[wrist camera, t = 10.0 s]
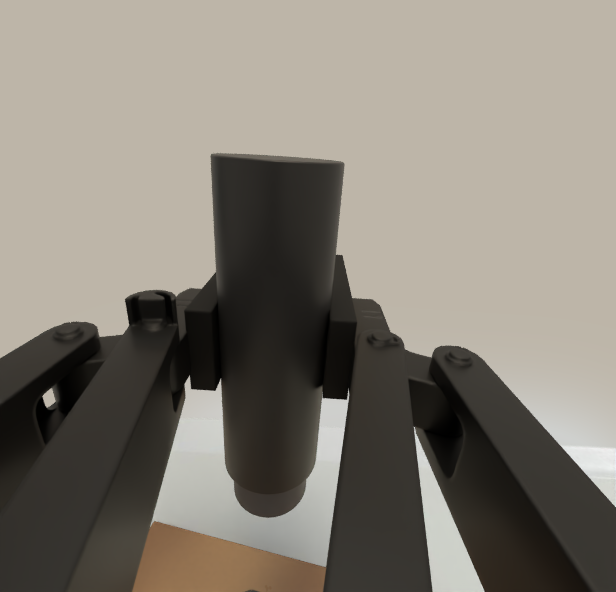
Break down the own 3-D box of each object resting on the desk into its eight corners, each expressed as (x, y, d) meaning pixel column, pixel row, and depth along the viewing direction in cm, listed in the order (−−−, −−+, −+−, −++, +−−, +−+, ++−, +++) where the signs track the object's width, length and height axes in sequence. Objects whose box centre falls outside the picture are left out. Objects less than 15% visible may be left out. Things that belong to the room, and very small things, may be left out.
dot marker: (210, 513, 12) (183, 153, 8) (245, 441, 15) (241, 153, 11) (303, 537, 12) (335, 164, 7) (319, 457, 15) (350, 161, 10)
